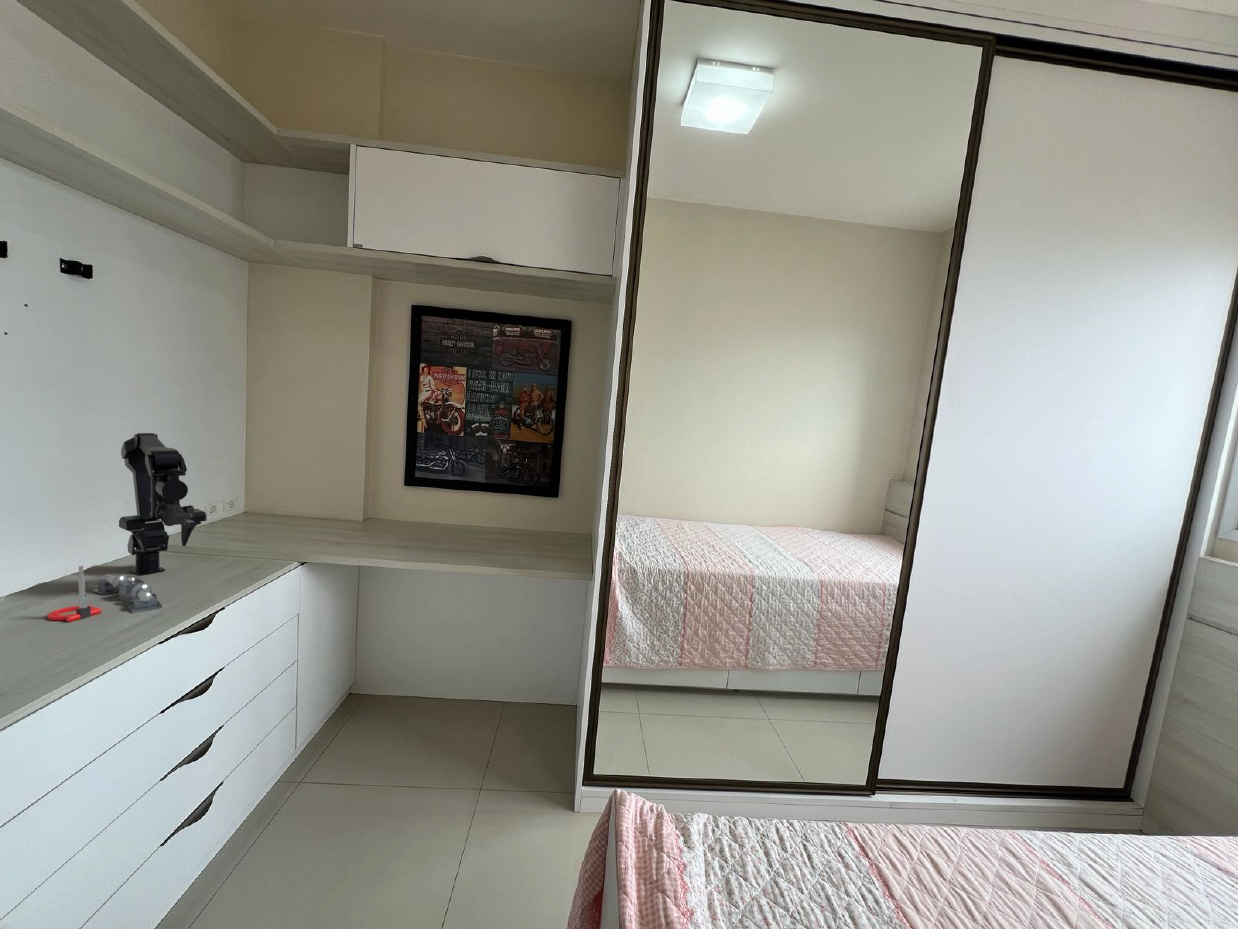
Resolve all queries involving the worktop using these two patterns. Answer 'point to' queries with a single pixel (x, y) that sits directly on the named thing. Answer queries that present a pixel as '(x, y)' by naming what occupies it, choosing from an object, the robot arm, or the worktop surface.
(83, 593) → the tow hook
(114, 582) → the shaft left
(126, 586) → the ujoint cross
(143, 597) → the shaft right
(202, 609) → the worktop surface
